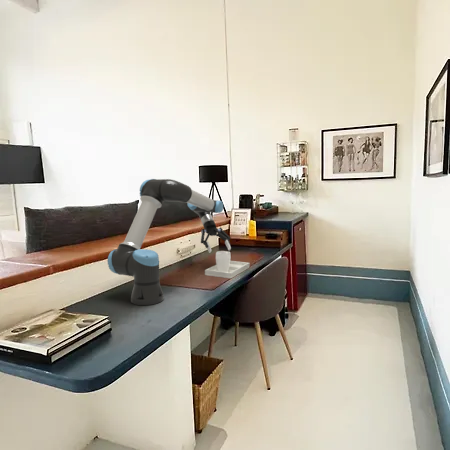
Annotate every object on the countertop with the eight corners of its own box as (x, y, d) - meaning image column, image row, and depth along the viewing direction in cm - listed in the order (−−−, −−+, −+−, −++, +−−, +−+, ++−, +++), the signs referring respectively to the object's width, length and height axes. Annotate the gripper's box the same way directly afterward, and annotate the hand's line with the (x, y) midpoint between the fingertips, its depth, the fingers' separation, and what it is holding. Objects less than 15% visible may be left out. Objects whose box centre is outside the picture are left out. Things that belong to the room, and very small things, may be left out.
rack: (230, 278, 203) (230, 273, 203) (204, 275, 210) (204, 270, 210) (249, 267, 228) (249, 262, 227) (225, 264, 235) (225, 260, 235)
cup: (229, 274, 208) (229, 254, 206) (214, 273, 210) (214, 253, 208) (231, 270, 217) (231, 251, 215) (217, 269, 218) (217, 250, 217)
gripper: (223, 225, 236) (235, 251, 225) (189, 228, 223) (200, 256, 212) (227, 218, 231) (239, 244, 220) (192, 220, 218) (204, 249, 207)
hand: (220, 250), depth 216 cm, fingers open, 13 cm apart
